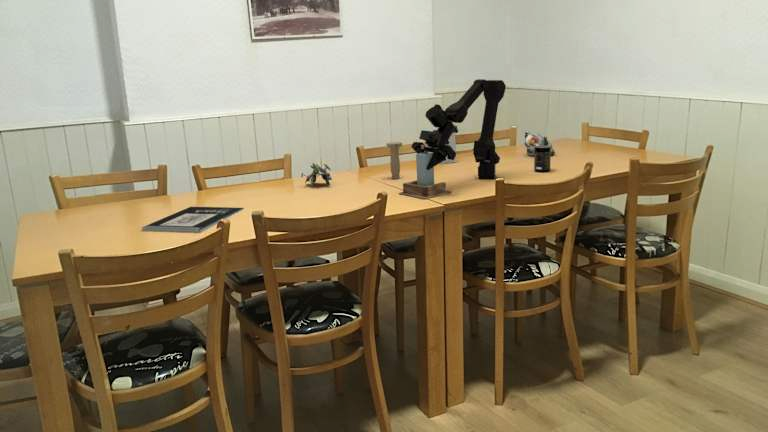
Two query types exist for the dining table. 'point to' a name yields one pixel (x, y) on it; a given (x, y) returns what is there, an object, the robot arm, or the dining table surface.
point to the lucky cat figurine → (535, 142)
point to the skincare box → (453, 145)
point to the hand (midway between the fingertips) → (422, 168)
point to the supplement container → (542, 158)
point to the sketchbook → (192, 219)
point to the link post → (424, 169)
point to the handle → (395, 159)
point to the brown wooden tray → (424, 190)
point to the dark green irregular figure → (321, 172)
